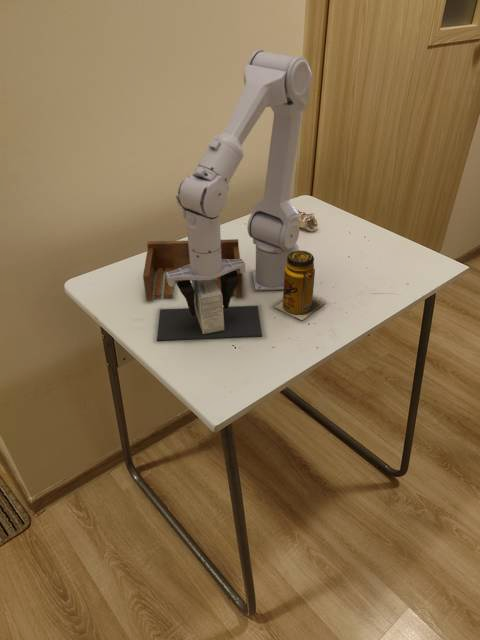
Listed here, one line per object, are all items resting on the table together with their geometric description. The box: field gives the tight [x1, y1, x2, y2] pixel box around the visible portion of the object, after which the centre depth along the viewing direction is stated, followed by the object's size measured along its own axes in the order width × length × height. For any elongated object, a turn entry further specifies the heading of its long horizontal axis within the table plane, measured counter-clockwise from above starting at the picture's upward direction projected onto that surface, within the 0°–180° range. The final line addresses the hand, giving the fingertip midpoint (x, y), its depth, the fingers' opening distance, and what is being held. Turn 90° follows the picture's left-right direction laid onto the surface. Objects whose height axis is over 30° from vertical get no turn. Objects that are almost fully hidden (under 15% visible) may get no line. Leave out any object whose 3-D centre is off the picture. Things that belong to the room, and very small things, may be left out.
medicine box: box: [191, 278, 224, 334], centre depth 96 cm, size 8×4×9 cm, turn 18°
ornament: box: [297, 209, 319, 232], centre depth 132 cm, size 8×7×4 cm
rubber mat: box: [156, 305, 263, 342], centre depth 99 cm, size 20×10×1 cm, turn 96°
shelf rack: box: [142, 238, 243, 302], centre depth 108 cm, size 20×13×7 cm, turn 96°
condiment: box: [274, 249, 327, 321], centre depth 101 cm, size 7×8×12 cm
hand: (208, 309), depth 97 cm, fingers open, 6 cm apart
